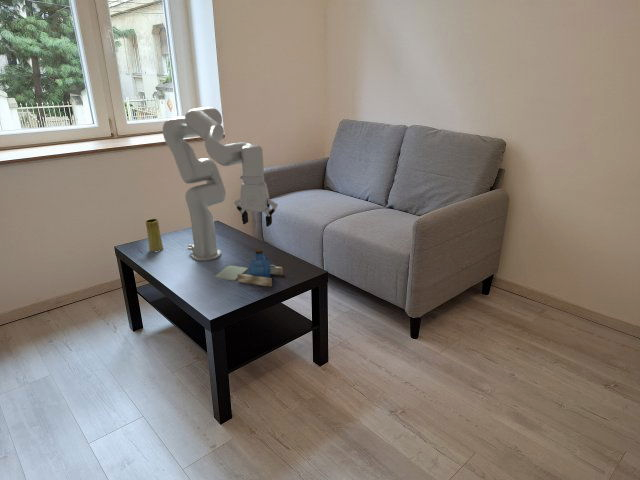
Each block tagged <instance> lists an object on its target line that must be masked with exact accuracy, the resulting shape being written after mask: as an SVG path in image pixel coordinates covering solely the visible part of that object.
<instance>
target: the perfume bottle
mask: <svg viewBox="0 0 640 480" xmlns="http://www.w3.org/2000/svg"><path fill="white" fill-rule="evenodd" d="M250 263H251V264H250ZM250 263H249V275H253V276H260V277H267V278H271V275H272V274H270V265H271V261H270V260H269V258H268V257H267V256H266V255H264V249H263V248H255V249H254V257H253V259H252V260H251V262H250Z"/></svg>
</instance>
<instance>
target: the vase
mask: <svg viewBox="0 0 640 480" xmlns="http://www.w3.org/2000/svg"><path fill="white" fill-rule="evenodd" d="M145 226H146V231H147V239H148V240H147V242H148V250H150V251H149V252H151V251H159V250H161V251H163V250H164V247H163V241H162V237H161V230H160V225H159V220H158V219H157V218H149V219H146V220H145ZM162 249H163V250H162ZM159 252H160V251H159Z"/></svg>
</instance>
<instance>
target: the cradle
mask: <svg viewBox="0 0 640 480" xmlns="http://www.w3.org/2000/svg"><path fill="white" fill-rule="evenodd" d="M250 264H251V262H249V265H250ZM283 270H284V269H283V267H282V266H276V264H270V274H271V275H276V276H282V275H283V273H284V272H283ZM237 276H238V279H237V282H239V283H245V284H251V285H259V286H265V287H272V286H273V280H272V279H273V278H272V277H269V278H267V277H260V276H253V275H250V274H248V273H247V274H246V273H243V274H240V273H239V274H238V275H237Z"/></svg>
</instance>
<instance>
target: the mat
mask: <svg viewBox="0 0 640 480" xmlns="http://www.w3.org/2000/svg"><path fill="white" fill-rule="evenodd" d="M248 270H249V268H248V267H244V266H236V265H227V266H226V267H224V268H223V269H222V270H221V271H220V272H218V273H217V274H216V275H214V278H215V279H221V280H227V281H234V282H235V281H237V280H238V276H237V275H238V274H239V273H240V274H245V273H246V272H247V271H248Z"/></svg>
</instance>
